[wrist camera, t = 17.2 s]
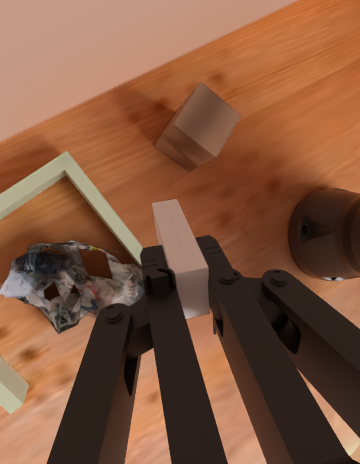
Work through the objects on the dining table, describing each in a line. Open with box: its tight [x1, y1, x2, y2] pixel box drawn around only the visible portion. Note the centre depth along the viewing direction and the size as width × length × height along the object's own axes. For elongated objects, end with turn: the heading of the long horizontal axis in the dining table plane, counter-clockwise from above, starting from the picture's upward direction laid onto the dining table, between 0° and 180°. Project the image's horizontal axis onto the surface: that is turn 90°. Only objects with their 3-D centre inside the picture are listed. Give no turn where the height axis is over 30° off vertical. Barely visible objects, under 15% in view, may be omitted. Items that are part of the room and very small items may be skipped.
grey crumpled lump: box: [0, 240, 145, 334], centre depth 35 cm, size 12×11×15 cm
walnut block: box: [154, 82, 241, 172], centre depth 37 cm, size 6×6×9 cm
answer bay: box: [0, 151, 143, 414], centre depth 34 cm, size 19×22×4 cm
